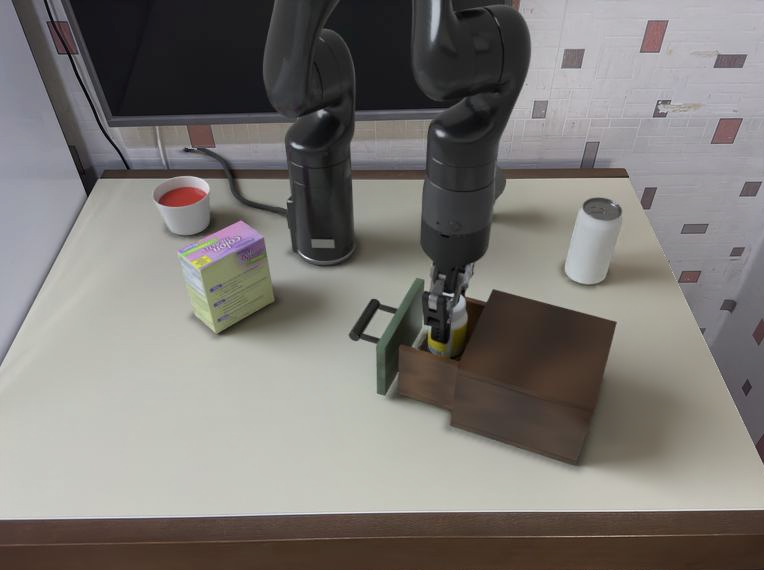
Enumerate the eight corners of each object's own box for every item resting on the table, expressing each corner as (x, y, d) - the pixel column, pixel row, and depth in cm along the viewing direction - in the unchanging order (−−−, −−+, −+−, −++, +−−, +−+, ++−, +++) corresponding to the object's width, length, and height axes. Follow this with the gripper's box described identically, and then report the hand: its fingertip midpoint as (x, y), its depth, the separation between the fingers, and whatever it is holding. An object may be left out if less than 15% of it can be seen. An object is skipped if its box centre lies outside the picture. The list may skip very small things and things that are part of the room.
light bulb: (463, 208, 117) (468, 156, 110) (496, 206, 118) (504, 155, 110) (469, 228, 113) (474, 176, 106) (504, 227, 114) (512, 174, 106)
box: (252, 283, 103) (240, 218, 94) (275, 301, 100) (265, 236, 91) (193, 315, 98) (175, 250, 89) (216, 335, 95) (199, 270, 86)
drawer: (339, 381, 88) (335, 333, 81) (380, 315, 97) (379, 267, 90) (485, 428, 83) (493, 380, 77) (514, 354, 92) (523, 306, 85)
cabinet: (449, 425, 84) (456, 367, 77) (484, 347, 94) (492, 288, 86) (574, 465, 81) (594, 409, 73) (597, 379, 90) (617, 321, 82)
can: (605, 289, 103) (625, 224, 94) (563, 283, 104) (579, 218, 95) (605, 262, 107) (624, 198, 99) (564, 257, 108) (580, 193, 99)
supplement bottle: (462, 337, 88) (468, 288, 82) (465, 363, 85) (471, 314, 79) (426, 337, 88) (428, 288, 82) (427, 363, 85) (430, 315, 79)
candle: (200, 244, 109) (192, 211, 104) (151, 234, 111) (141, 201, 106) (226, 213, 115) (219, 181, 110) (178, 204, 117) (170, 172, 112)
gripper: (445, 169, 77) (437, 283, 89) (399, 240, 67) (397, 356, 80) (509, 183, 75) (492, 298, 87) (470, 258, 66) (457, 374, 78)
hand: (447, 325), depth 83 cm, fingers closed on supplement bottle, 4 cm apart
